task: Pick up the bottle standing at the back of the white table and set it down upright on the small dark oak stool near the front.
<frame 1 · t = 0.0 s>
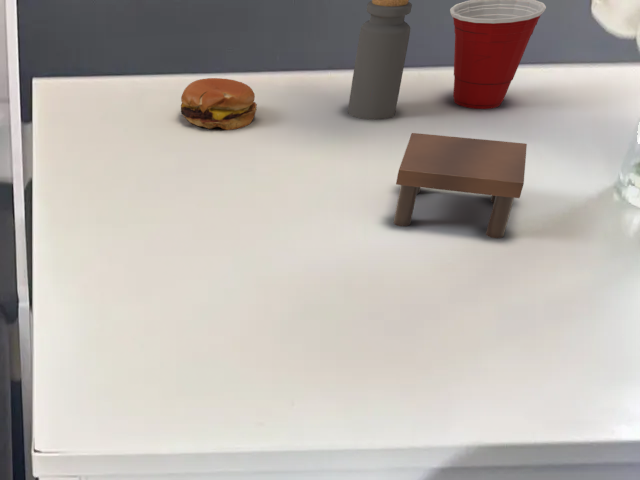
bottle: (370, 115, 122), on the table
plastic cup: (474, 105, 124), on the table
burger: (217, 121, 122), on the table
stool: (450, 214, 97), on the table
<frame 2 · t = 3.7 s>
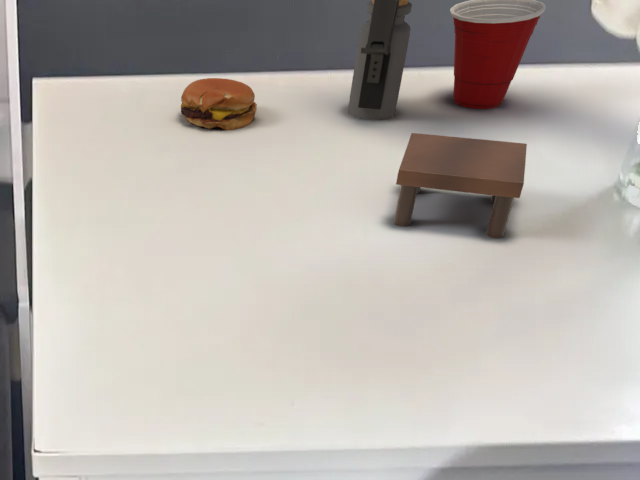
hand: (373, 99, 121), 2 cm above the table, tool pointing down, fingers closed on bottle, 6 cm apart
bottle: (370, 115, 122), on the table, touching gripper
everything else where it was.
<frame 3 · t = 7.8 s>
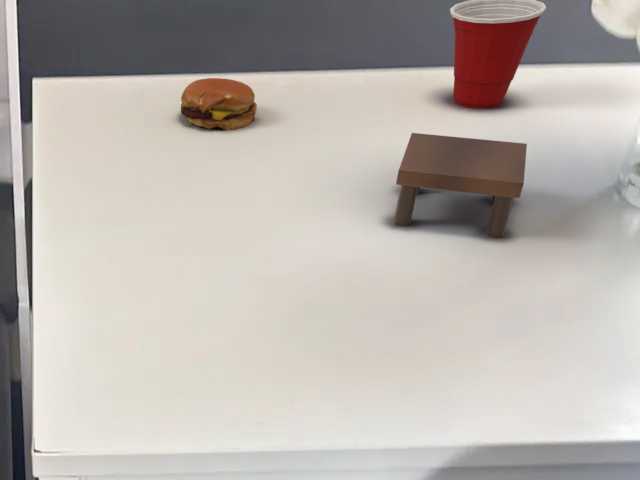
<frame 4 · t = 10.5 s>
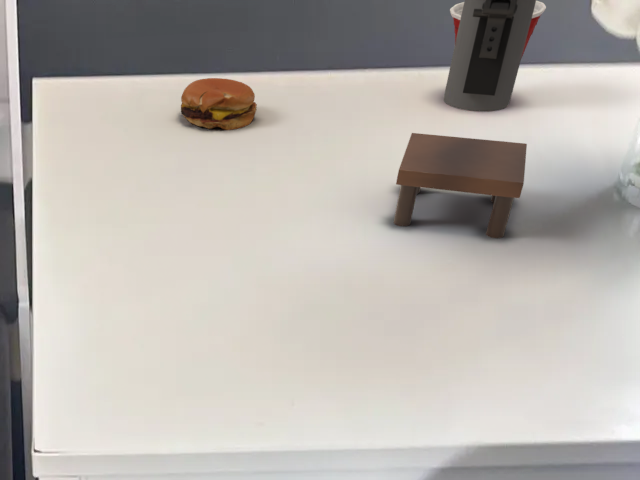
hand: (481, 82, 89), 13 cm above the table, tool pointing down, fingers closed on bottle, 6 cm apart
bottle: (475, 104, 90), point 11 cm above the table, touching gripper
everything else where it was.
when the fingers open (8 cm above the table, at t = 12.1 s): bottle stays where it is, resting on stool.
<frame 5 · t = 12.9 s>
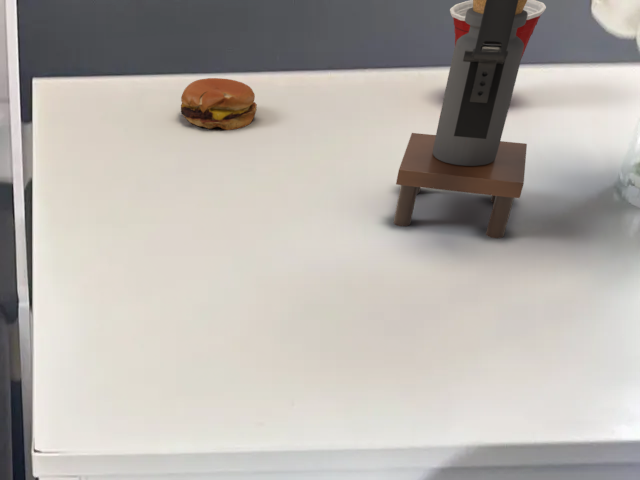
hand: (474, 113, 90), 10 cm above the table, tool pointing down, fingers open, 13 cm apart
bottle: (463, 158, 93), point 6 cm above the table, touching stool
everything else where it was.
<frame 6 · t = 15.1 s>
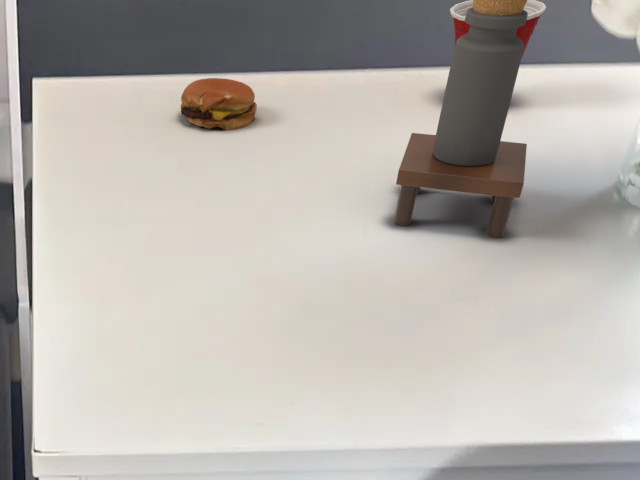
nothing on the table moved.
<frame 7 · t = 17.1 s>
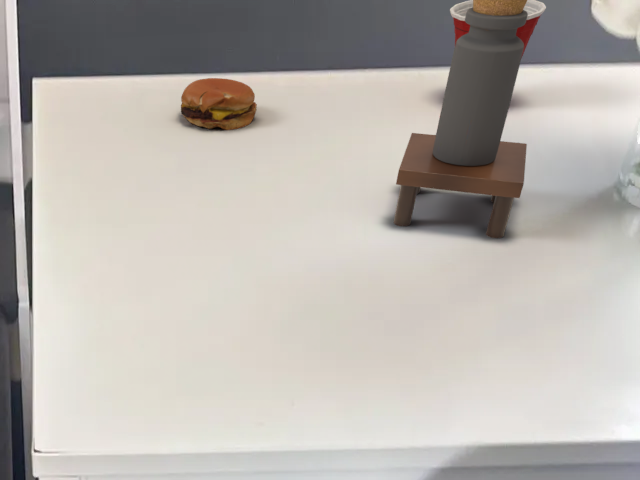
nothing on the table moved.
at the end: bottle inside the target area on the stool (0.1 cm from its centre), point 5.8 cm above the stool's base; bottle tilted 0°; the gripper is holding nothing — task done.
